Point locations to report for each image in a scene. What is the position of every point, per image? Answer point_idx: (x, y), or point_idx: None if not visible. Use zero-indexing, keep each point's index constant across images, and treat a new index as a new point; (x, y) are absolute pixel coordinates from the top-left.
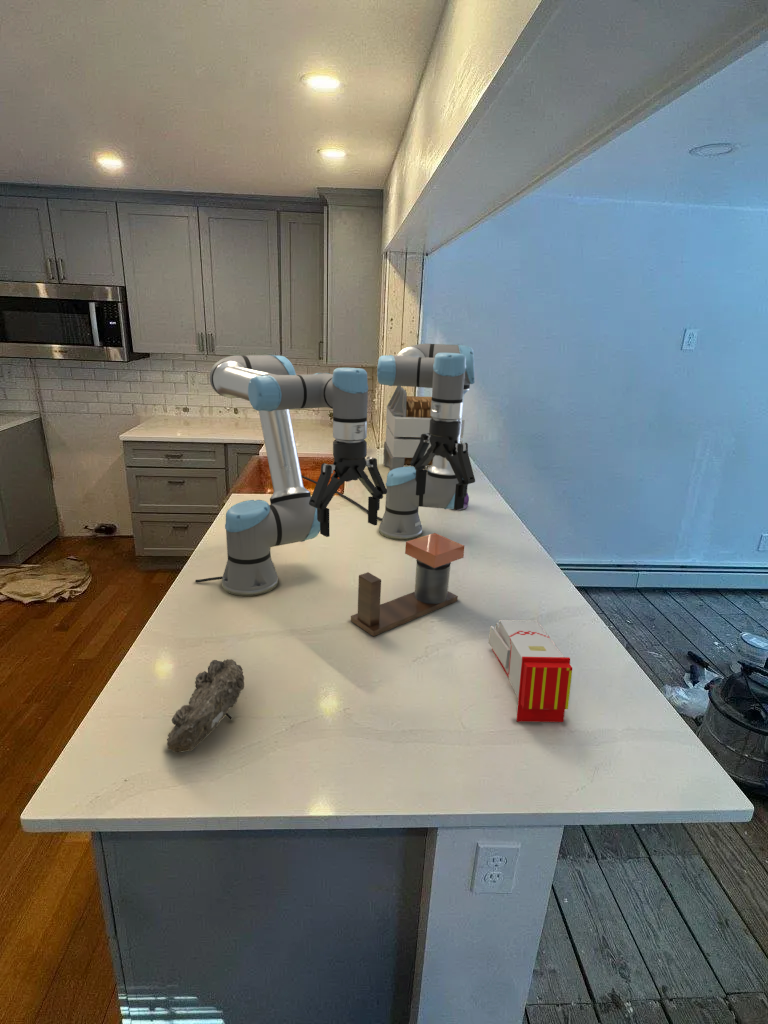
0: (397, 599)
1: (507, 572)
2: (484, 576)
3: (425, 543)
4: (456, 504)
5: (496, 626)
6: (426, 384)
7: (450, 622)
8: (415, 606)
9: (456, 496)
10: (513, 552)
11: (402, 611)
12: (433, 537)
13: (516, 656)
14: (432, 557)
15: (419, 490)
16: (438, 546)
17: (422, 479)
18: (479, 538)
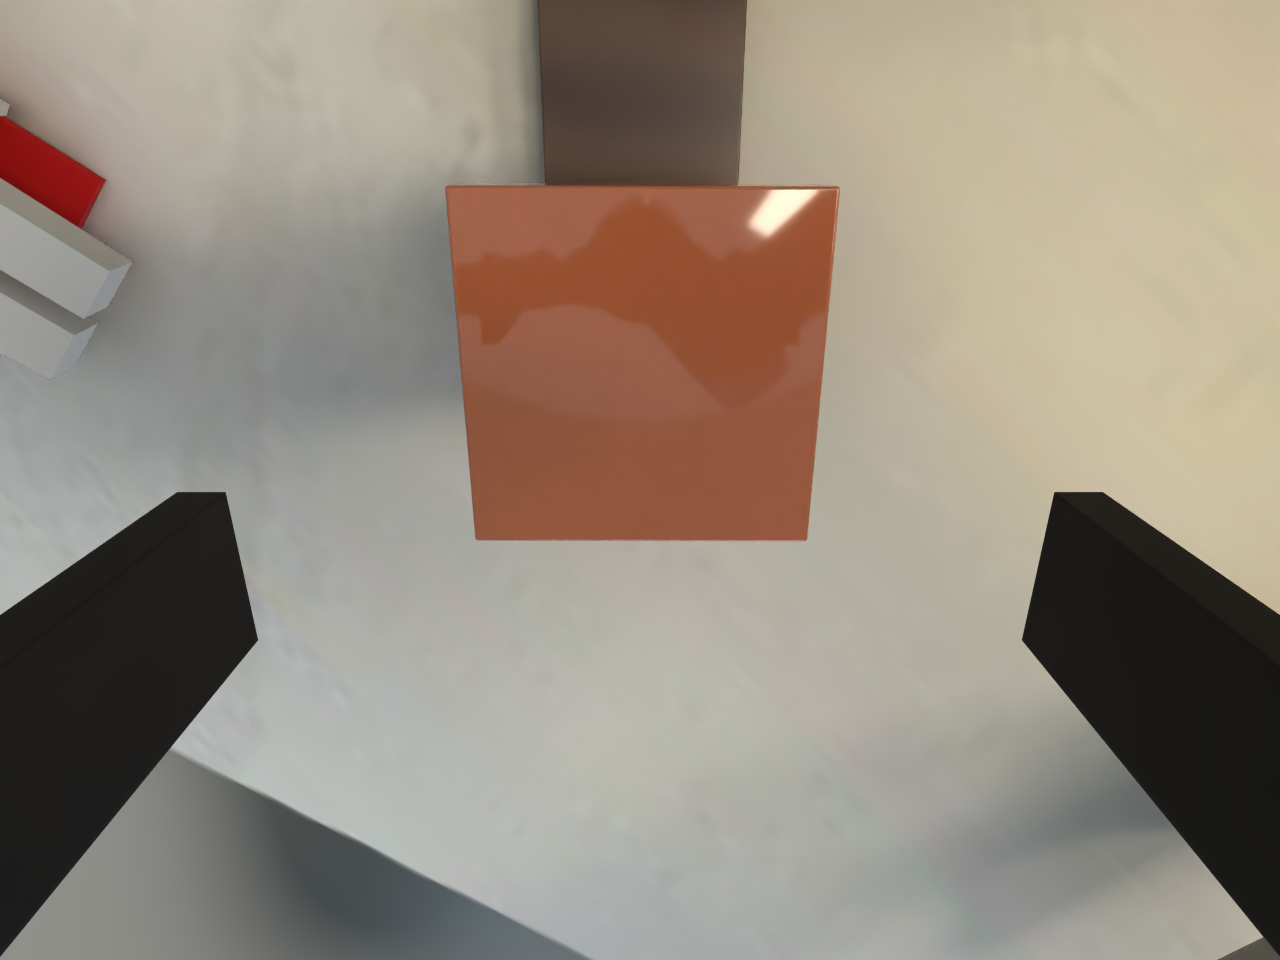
0: (728, 101)
1: (620, 785)
2: (657, 686)
3: (693, 311)
4: (122, 534)
5: (98, 256)
6: None
7: (415, 214)
8: (604, 134)
9: (24, 608)
10: (736, 935)
11: (604, 18)
12: (744, 463)
13: None
14: (482, 184)
15: (1092, 563)
16: (580, 359)
17: (1216, 751)
18: (936, 936)
